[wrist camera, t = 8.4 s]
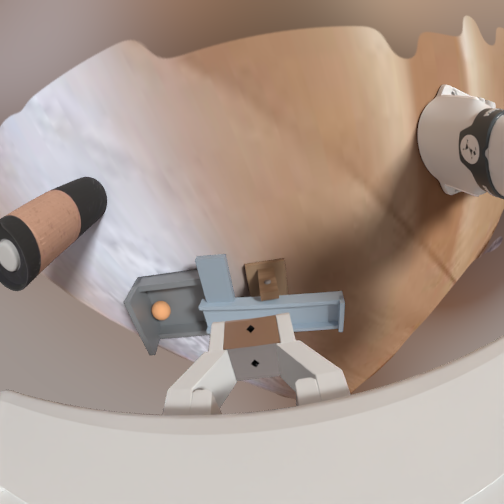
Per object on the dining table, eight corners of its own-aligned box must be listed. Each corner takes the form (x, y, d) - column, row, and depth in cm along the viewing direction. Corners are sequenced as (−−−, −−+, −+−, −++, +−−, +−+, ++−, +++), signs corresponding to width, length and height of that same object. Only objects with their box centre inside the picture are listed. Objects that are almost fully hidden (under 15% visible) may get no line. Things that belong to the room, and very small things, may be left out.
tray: (207, 267, 43) (202, 293, 36) (222, 321, 47) (220, 350, 41) (137, 277, 43) (123, 302, 37) (158, 328, 48) (149, 355, 42)
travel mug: (94, 231, 39) (21, 305, 21) (62, 202, 36) (-21, 259, 19) (117, 196, 37) (36, 259, 19) (83, 164, 34) (-11, 207, 16)
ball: (146, 302, 43) (162, 294, 45) (152, 317, 44) (168, 309, 46) (152, 311, 41) (170, 302, 42) (159, 326, 42) (176, 318, 44)
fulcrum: (283, 258, 42) (291, 283, 36) (289, 311, 47) (295, 340, 40) (244, 263, 42) (245, 290, 36) (254, 316, 47) (256, 346, 41)
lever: (342, 245, 34) (346, 255, 31) (340, 319, 39) (342, 331, 37) (190, 256, 37) (183, 267, 35) (210, 325, 43) (205, 337, 40)
